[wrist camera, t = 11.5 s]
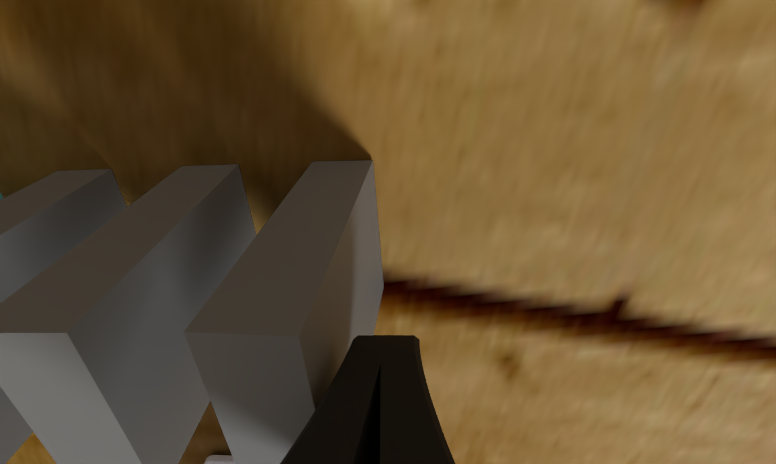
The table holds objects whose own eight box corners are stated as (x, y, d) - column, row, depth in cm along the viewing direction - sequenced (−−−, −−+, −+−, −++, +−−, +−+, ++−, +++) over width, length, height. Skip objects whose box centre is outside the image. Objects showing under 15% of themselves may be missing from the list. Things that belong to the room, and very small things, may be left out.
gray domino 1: (238, 164, 14) (66, 333, 7) (268, 285, 17) (161, 497, 10) (181, 166, 14) (-39, 333, 8) (219, 286, 17) (79, 494, 10)
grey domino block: (111, 168, 15) (-165, 333, 8) (159, 287, 17) (-19, 491, 10) (57, 170, 15) (-260, 332, 8) (111, 287, 17) (-94, 488, 10)
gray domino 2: (372, 160, 14) (298, 336, 7) (383, 286, 16) (336, 508, 9) (312, 161, 14) (183, 332, 7) (331, 285, 17) (249, 500, 10)
